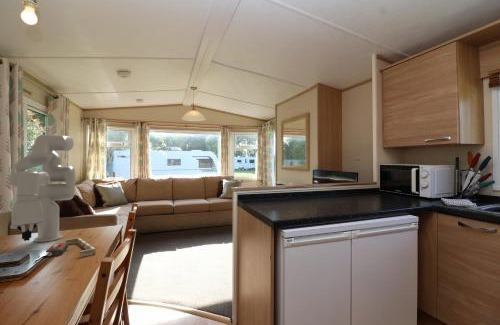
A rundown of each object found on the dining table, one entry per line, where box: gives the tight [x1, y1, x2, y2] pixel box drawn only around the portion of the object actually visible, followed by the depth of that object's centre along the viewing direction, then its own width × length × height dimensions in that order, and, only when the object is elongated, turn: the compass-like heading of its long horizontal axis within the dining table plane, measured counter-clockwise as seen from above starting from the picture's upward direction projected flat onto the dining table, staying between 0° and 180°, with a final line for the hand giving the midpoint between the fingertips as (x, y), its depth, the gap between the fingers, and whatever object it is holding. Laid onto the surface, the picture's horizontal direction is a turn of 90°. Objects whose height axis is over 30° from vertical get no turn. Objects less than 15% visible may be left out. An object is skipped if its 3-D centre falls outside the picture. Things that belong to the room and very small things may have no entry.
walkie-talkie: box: [45, 242, 69, 257], centre depth 117 cm, size 9×4×20 cm
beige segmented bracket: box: [65, 237, 97, 258], centre depth 125 cm, size 27×6×2 cm, turn 49°
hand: (26, 240), depth 109 cm, fingers closed
